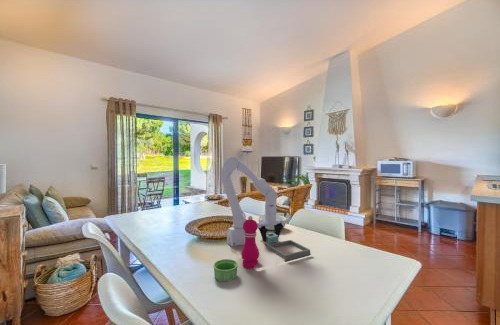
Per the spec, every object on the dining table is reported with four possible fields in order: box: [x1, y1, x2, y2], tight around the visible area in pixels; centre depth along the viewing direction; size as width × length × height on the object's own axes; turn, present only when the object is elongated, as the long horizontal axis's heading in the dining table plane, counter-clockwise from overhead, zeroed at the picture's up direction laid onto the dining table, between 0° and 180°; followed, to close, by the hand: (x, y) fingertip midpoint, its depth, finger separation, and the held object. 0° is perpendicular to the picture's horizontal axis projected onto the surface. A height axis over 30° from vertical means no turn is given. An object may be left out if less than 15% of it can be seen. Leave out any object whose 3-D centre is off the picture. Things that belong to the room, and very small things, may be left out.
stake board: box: [259, 232, 280, 247], centre depth 116 cm, size 8×8×5 cm
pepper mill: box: [240, 215, 260, 270], centre depth 93 cm, size 7×7×20 cm
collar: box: [265, 232, 279, 245], centre depth 116 cm, size 6×7×4 cm
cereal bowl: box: [258, 214, 287, 231], centre depth 140 cm, size 17×17×7 cm
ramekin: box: [212, 258, 239, 282], centre depth 85 cm, size 9×9×4 cm
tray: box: [267, 239, 311, 263], centre depth 105 cm, size 14×14×3 cm
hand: (270, 239), depth 116 cm, fingers open, 7 cm apart
